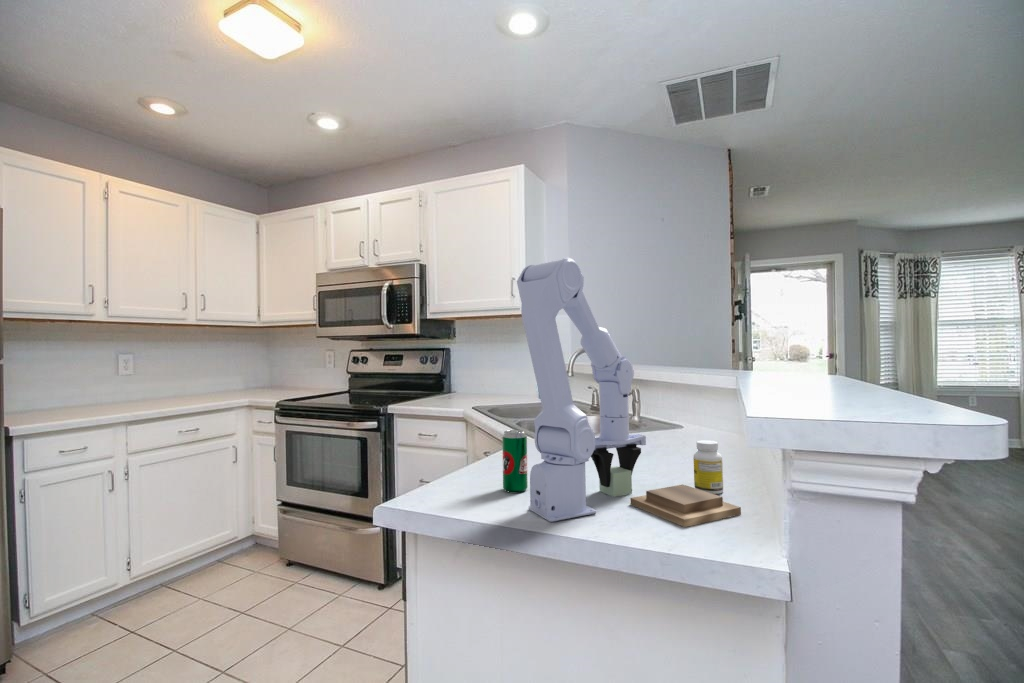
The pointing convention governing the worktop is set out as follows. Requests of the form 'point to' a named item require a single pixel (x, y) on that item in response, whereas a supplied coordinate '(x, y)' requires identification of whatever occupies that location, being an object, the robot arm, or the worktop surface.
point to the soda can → (514, 461)
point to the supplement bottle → (708, 467)
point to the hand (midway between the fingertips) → (615, 484)
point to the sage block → (618, 482)
